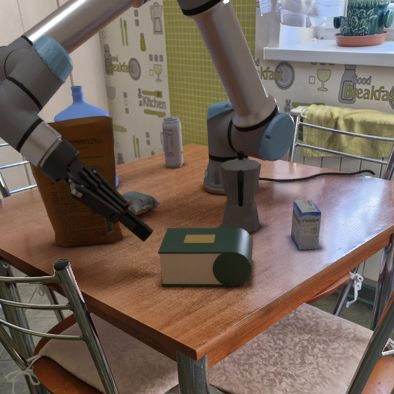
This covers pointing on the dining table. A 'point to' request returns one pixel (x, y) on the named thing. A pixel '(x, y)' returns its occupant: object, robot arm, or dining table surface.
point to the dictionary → (206, 257)
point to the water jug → (80, 110)
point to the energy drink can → (172, 141)
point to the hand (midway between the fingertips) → (148, 236)
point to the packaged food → (140, 202)
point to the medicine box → (305, 224)
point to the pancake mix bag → (77, 211)
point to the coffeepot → (241, 193)
